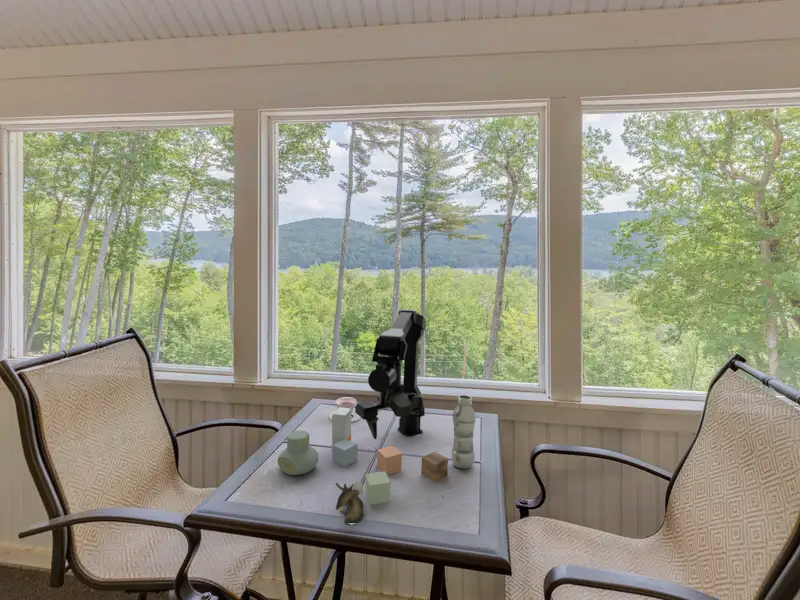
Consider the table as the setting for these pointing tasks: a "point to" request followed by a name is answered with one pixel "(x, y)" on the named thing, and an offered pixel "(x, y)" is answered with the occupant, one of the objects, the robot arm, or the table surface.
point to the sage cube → (377, 488)
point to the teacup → (346, 404)
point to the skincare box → (341, 425)
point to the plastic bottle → (463, 433)
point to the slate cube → (344, 452)
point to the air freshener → (298, 454)
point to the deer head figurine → (351, 502)
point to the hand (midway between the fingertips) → (389, 435)
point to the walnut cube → (434, 466)
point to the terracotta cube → (389, 460)
